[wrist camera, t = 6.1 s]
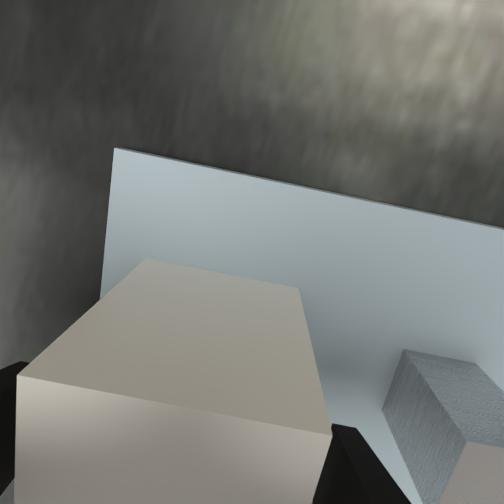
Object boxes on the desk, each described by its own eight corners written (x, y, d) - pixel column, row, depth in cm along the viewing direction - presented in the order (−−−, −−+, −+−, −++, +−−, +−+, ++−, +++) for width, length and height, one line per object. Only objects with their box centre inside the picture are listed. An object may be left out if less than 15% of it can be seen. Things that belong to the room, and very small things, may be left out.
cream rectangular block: (298, 288, 12) (332, 436, 6) (266, 414, 14) (267, 643, 7) (146, 257, 12) (16, 375, 6) (130, 388, 14) (11, 596, 7)
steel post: (463, 351, 14) (571, 462, 9) (440, 409, 14) (528, 541, 10) (396, 337, 14) (467, 441, 9) (375, 396, 14) (430, 521, 9)
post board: (591, 246, 12) (612, 252, 12) (464, 512, 16) (474, 530, 15) (124, 148, 12) (114, 147, 11) (94, 439, 15) (85, 455, 15)
